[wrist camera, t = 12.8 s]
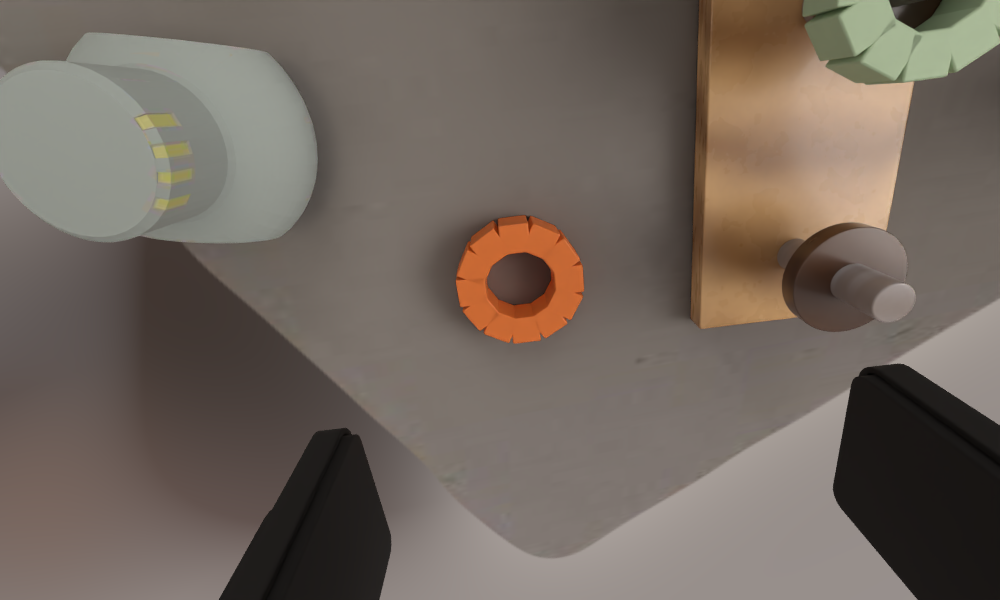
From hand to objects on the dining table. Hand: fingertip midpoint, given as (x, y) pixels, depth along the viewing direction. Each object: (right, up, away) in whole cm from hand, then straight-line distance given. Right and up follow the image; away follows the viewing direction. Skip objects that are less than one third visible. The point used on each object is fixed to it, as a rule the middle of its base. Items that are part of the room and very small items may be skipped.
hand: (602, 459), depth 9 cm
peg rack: (+14, +12, +16) cm, 24 cm away
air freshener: (-16, +12, +16) cm, 26 cm away
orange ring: (-1, +5, +19) cm, 19 cm away
